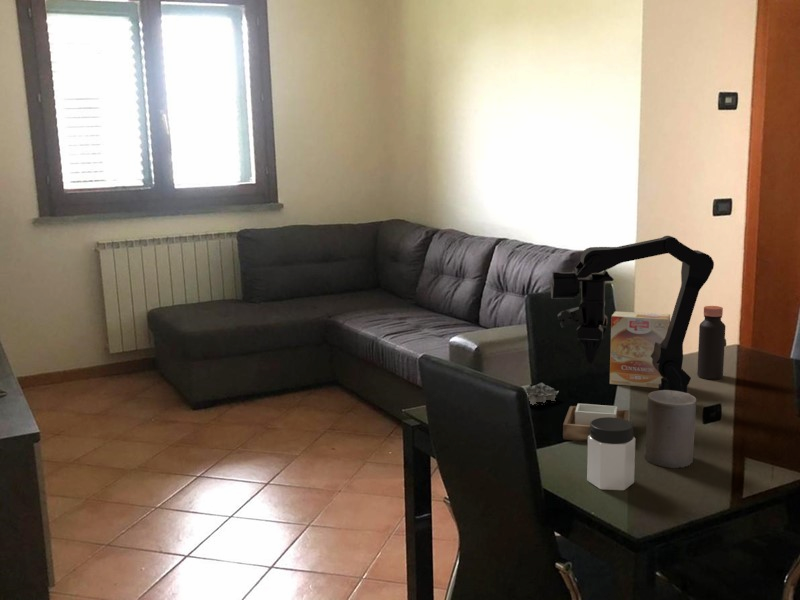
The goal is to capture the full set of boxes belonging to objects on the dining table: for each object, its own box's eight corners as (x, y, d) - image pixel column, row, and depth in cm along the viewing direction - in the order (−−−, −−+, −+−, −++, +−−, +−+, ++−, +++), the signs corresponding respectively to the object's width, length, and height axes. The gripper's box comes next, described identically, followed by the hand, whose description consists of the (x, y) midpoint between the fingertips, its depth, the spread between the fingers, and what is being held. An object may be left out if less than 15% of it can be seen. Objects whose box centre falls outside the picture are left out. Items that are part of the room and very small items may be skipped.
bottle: (726, 379, 221) (730, 309, 217) (702, 380, 221) (705, 310, 218) (717, 373, 228) (720, 304, 224) (693, 373, 228) (696, 305, 224)
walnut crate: (628, 424, 188) (628, 410, 187) (625, 444, 175) (625, 429, 175) (569, 419, 192) (570, 405, 192) (562, 439, 179) (563, 424, 179)
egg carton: (528, 409, 202) (528, 394, 201) (510, 401, 208) (510, 386, 207) (561, 402, 207) (561, 386, 206) (542, 394, 213) (542, 379, 212)
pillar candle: (635, 458, 168) (637, 390, 165) (662, 446, 173) (665, 381, 170) (675, 472, 160) (679, 401, 157) (703, 460, 166) (707, 391, 163)
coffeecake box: (609, 384, 220) (610, 315, 216) (612, 377, 226) (614, 310, 223) (665, 389, 214) (668, 318, 211) (668, 382, 221) (670, 313, 217)
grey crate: (616, 426, 185) (617, 406, 184) (615, 435, 180) (615, 414, 179) (577, 423, 188) (577, 403, 187) (574, 432, 182) (575, 411, 181)
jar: (601, 469, 162) (602, 413, 160) (639, 479, 157) (641, 421, 155) (580, 484, 155) (581, 426, 153) (619, 495, 150) (621, 434, 148)
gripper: (564, 291, 209) (563, 348, 212) (555, 304, 192) (554, 366, 195) (608, 292, 206) (606, 350, 209) (602, 306, 188) (601, 369, 191)
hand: (591, 358), depth 201 cm, fingers open, 9 cm apart
